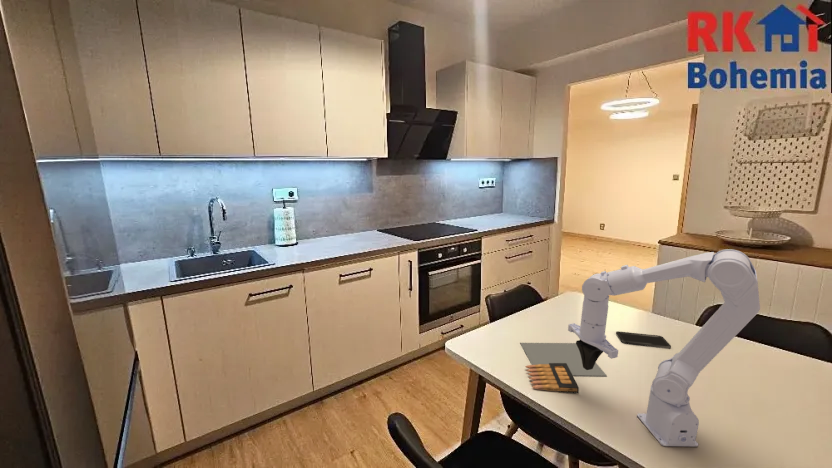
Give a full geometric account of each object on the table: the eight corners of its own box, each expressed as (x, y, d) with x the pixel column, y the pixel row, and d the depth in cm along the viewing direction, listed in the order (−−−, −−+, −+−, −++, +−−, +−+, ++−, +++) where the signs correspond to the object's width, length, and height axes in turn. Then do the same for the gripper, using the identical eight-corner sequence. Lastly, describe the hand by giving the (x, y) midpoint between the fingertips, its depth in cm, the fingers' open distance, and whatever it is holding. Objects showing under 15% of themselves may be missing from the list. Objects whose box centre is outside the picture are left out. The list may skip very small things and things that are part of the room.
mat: (606, 376, 100) (606, 375, 100) (537, 375, 100) (537, 374, 100) (578, 343, 117) (579, 343, 117) (520, 343, 118) (520, 342, 118)
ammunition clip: (565, 368, 103) (524, 367, 104) (566, 362, 102) (524, 362, 103) (578, 393, 92) (532, 392, 94) (579, 387, 92) (532, 386, 93)
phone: (615, 331, 125) (661, 335, 121) (614, 333, 125) (661, 338, 122) (622, 341, 117) (672, 347, 114) (622, 344, 117) (672, 350, 114)
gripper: (630, 331, 82) (623, 381, 85) (584, 307, 95) (579, 351, 98) (607, 335, 80) (600, 387, 83) (563, 310, 93) (559, 355, 96)
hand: (587, 368), depth 90 cm, fingers closed
